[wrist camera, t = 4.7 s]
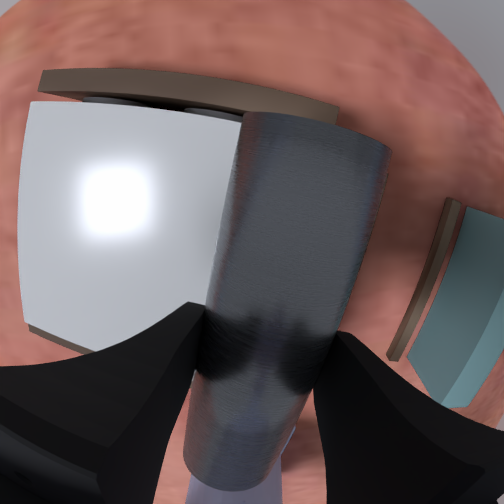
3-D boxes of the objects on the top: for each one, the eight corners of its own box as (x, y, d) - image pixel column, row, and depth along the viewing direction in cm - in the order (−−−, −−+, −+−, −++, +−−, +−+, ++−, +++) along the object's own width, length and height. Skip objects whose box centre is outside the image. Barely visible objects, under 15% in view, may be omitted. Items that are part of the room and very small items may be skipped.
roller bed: (384, 374, 21) (403, 414, 17) (62, 301, 20) (29, 331, 16) (461, 174, 16) (505, 182, 12) (84, 83, 15) (42, 70, 11)
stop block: (434, 359, 21) (467, 406, 15) (406, 356, 21) (437, 408, 15) (493, 218, 17) (548, 241, 11) (467, 206, 17) (524, 227, 11)
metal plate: (261, 371, 16) (261, 395, 14) (42, 307, 16) (24, 321, 14) (326, 148, 13) (337, 147, 11) (53, 105, 12) (31, 101, 10)
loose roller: (265, 426, 14) (278, 491, 10) (185, 419, 13) (181, 487, 9) (353, 151, 10) (422, 158, 6) (238, 120, 9) (252, 102, 5)
